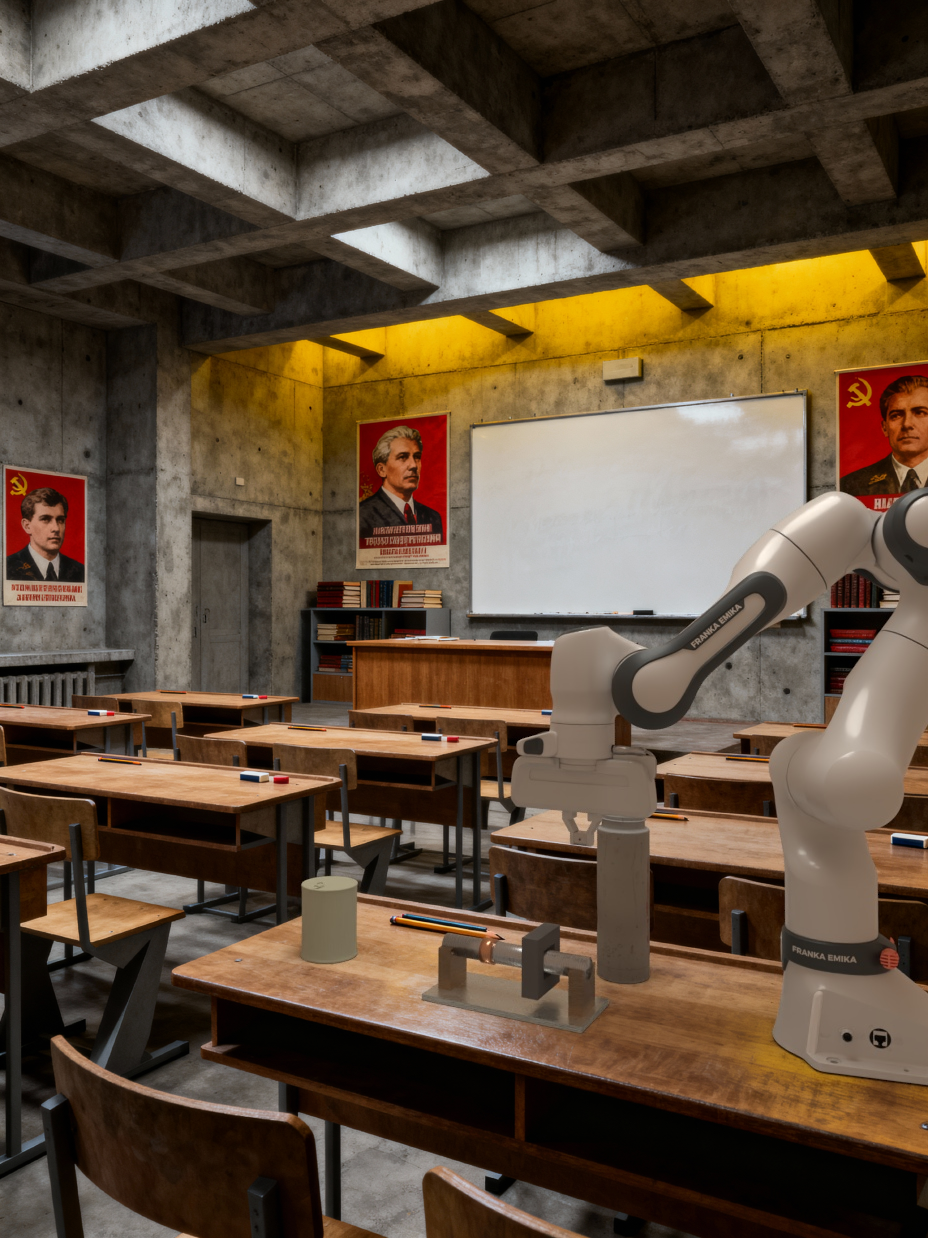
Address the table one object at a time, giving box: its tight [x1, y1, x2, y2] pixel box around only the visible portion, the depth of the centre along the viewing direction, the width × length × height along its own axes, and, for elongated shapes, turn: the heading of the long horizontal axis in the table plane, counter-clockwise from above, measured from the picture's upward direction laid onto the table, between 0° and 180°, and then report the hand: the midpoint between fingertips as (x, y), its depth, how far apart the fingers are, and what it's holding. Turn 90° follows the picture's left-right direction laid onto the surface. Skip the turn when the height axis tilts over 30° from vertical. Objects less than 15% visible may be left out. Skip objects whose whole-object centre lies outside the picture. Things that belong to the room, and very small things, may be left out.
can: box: [299, 875, 359, 965], centre depth 150 cm, size 9×9×12 cm
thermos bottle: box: [596, 815, 651, 984], centre depth 142 cm, size 8×8×28 cm
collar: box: [521, 921, 561, 1000], centre depth 128 cm, size 2×8×8 cm, turn 152°
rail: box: [421, 932, 610, 1034], centre depth 130 cm, size 24×11×8 cm, turn 62°
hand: (582, 845), depth 126 cm, fingers closed
